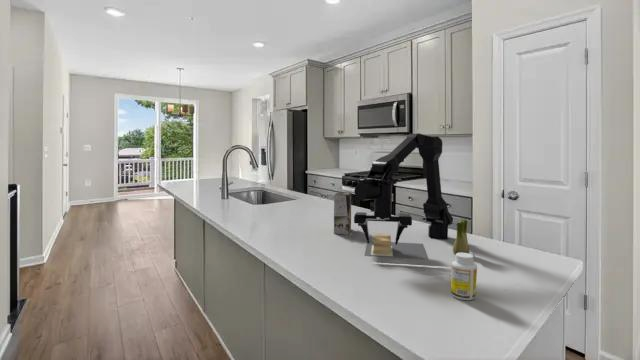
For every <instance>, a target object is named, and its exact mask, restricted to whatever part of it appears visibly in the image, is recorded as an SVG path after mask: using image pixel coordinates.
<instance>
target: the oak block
mask: <svg viewBox="0 0 640 360" xmlns="http://www.w3.org/2000/svg"><path fill="white" fill-rule="evenodd" d="M391 236H392V235H391V234H390V233H374V235H373V241H374V252H373V254H388V255H391V242H392V237H391Z"/></svg>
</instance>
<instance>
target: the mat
mask: <svg viewBox="0 0 640 360" xmlns="http://www.w3.org/2000/svg"><path fill="white" fill-rule="evenodd" d="M395 242H396V241H394V242H393V241H391V255H388V254H373V252H374V240H372V241H371V240H369V243H367V242H366V245H365V251H364V255H363V256H364V257H376V258H380V257H381V258H394V259H395V258H396V259H397V258H398V259H412V260H414V259H415V260H429V257H428V253H427V251H426V249H425V246H424V243H419V242H417V243H415V242H401V241H400V242H399V241H398V243H397V245H396V244H395Z"/></svg>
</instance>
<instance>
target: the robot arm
mask: <svg viewBox="0 0 640 360" xmlns="http://www.w3.org/2000/svg"><path fill="white" fill-rule="evenodd" d="M416 149H417V150H418V154H419V155H420V157H421V158H422V160H423V162H424V168H425V170H424V171H425V179H426V180H425V181H426V190H427V191H426V192H427V199H426V201H425V202H424V203H422V207H423V213H422V214H424V216H425V220H426V222H428V223H429V225H428V238H430V239H432V240H449V237H448V236H449V235H448V234H449V226H451V225H452V224H453V220H454V218H453V216H452V214H451V213H450V211H449V209H448V203H447V202H446V200H445V199H444V198H443V195H442V188H441V187H442V184H441V173H440V164H439V163H440V162H439V159H440V158H441V155H442V153H443V139H441V138H440V137H439V136H438V135H437V136H436V135H435V136H430V135H426V134H422V133H420V132H419V133H417V132H416V133H410V134H408V135H407V136H406V138H405V139H404V140H403V141H401V143H399V144H398V145H397V146H396V147H395V148H393V150H392V151H391V152H389V153H388V154H387V155H384V156H381V157H379V158H377V159H376V160H374V161H373V162H372V163H371V167H370V169H369V171H368V172H367V175H366V177H365V178H364V179H363V178H360V179H359V180H358V183H357V184H356V185H355V188H354V196H355V198H356V199H357V200H358V201H360V202H363V201H370V200H374V201H371V202H370V212H373V215H371V214H367V213H368V212H364V211H363V212H362V211H361V212H358V211H357V212H355V214H354V216H353V223H354V224H357V226H358V227H361V229H362V232H363V233H364V236H365V239H366V244H367V243H369V241H370V233H369V225H368V223H369V222H392V223H397V228H396V236H395V241H394V242H395V244H396V245H397V243H398V242H399V240H400V237H401V235H402V233H403V231H404V230H405V229H407V228H408V227H410V226H412V225H413V218H412V215H411V214H409V213H398V216H397V215H396V216H395V215H392V210H393V209H392V206H393V205H392V202H393V201H392V200H393V198H392V197H393V185H396V184H397V181H396V180H395V179H394V178H393V177H394V176H395V175H396V173H397V172H398V171H399V169H400V164H401V163H402V162H403V161H404V160H405V159H406V158H408V156H409V155H410V154H411V153H412V152H414V150H416Z"/></svg>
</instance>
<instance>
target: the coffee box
mask: <svg viewBox="0 0 640 360" xmlns="http://www.w3.org/2000/svg"><path fill="white" fill-rule="evenodd" d="M333 198H334V199H333V234H341V235H349V233H350V232H351V229H352V192H348V191H347V192H344V191H343V192H336V193H335V194H334V195H333Z"/></svg>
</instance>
